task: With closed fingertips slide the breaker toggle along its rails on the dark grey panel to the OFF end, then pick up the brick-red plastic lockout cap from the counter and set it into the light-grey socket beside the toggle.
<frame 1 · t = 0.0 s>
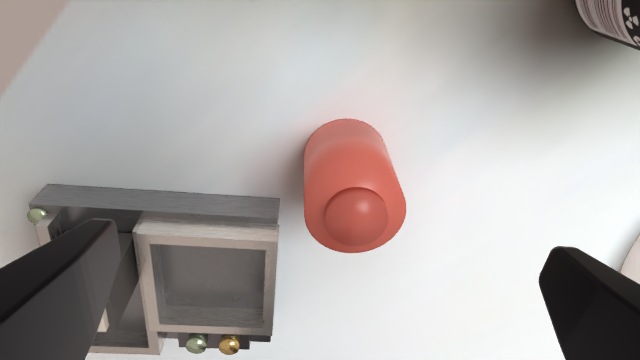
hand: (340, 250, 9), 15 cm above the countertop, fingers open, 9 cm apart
breaker panel: (172, 258, 28), on the countertop
breaker toggle: (89, 280, 23), point 4 cm above the countertop, slide at 0.0 cm
lockout cap: (344, 157, 25), on the countertop
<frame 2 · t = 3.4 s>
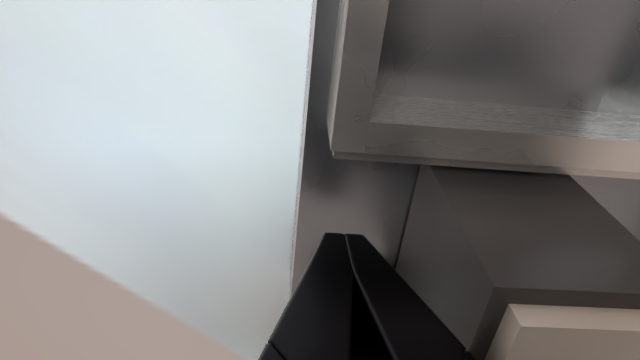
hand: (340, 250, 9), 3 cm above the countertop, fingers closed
breaker panel: (510, 78, 11), on the countertop
breaker toggle: (506, 292, 9), point 4 cm above the countertop, slide at 1.1 cm, touching gripper
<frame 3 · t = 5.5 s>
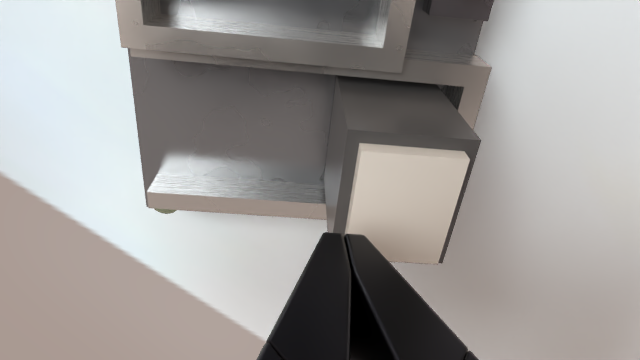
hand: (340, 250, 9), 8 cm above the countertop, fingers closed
breaker panel: (305, 14, 14), on the countertop
breaker toggle: (387, 166, 12), point 4 cm above the countertop, slide at 4.5 cm
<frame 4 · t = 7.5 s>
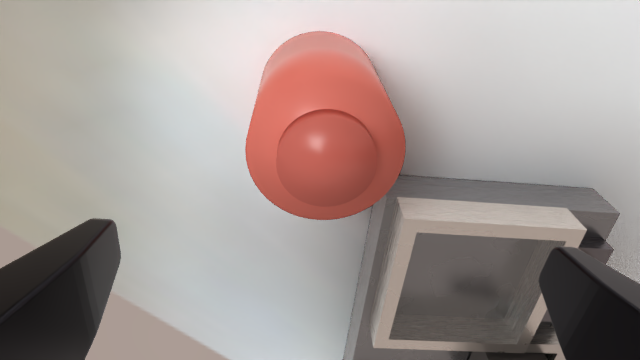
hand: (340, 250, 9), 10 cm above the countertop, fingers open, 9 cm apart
breaker panel: (451, 287, 23), on the countertop
lockout cap: (319, 91, 17), on the countertop
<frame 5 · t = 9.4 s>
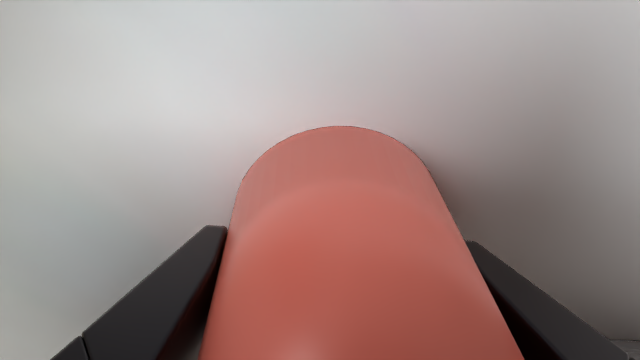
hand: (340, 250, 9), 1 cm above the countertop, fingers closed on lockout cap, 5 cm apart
lockout cap: (336, 219, 10), on the countertop, touching gripper
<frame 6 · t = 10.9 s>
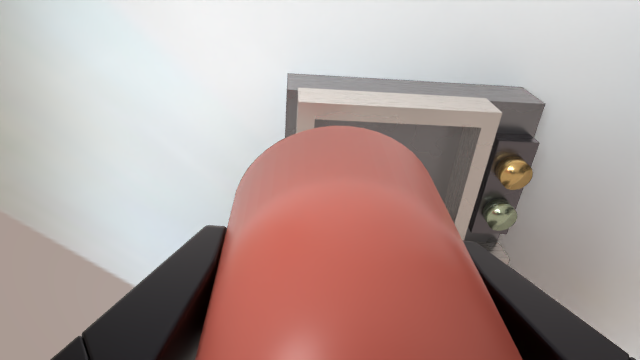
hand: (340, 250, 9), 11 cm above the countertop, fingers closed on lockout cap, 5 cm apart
breaker panel: (384, 209, 22), on the countertop
lockout cap: (335, 219, 10), point 10 cm above the countertop, touching gripper
when the fingers open (4 cm above the countertop, at t = 12.8 s): lockout cap drops 1 cm, resting on breaker panel.
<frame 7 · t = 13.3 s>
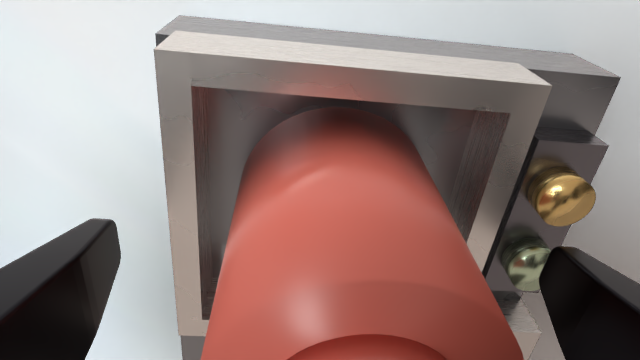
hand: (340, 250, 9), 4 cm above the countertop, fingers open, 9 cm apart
breaker panel: (348, 240, 14), on the countertop
lockout cap: (333, 194, 11), point 2 cm above the countertop, touching breaker panel
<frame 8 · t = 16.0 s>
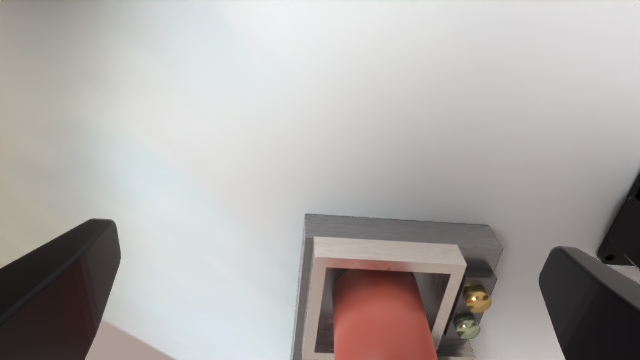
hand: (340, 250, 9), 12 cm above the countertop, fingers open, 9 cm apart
breaker panel: (378, 306, 27), on the countertop
lockout cap: (375, 295, 23), point 2 cm above the countertop, touching breaker panel
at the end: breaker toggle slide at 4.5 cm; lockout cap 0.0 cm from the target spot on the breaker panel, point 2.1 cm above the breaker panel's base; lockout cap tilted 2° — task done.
